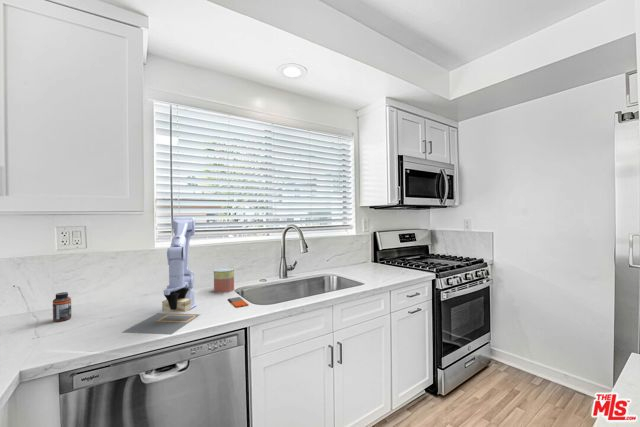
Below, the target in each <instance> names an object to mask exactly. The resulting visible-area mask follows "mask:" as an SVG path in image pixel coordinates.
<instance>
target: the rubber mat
mask: <svg viewBox="0 0 640 427" xmlns="http://www.w3.org/2000/svg"><path fill="white" fill-rule="evenodd" d="M199 316H201V313H200V314H197V313H172V312H171V313H170V312H169V313H166V312H157V313H155V314H153V315H152V316H150V317H148V318H146V319H144V320H142V321H140V322H139V323H136V324H134V325H133V326H131V327H129V328H127V329H125V330H123V331H121V333H122V334H123V333H127V334H153V335H173V334H174V333H176V332H178V331H179V330H180V329H182V328H183V327H186V325H187V324H189V323H191V322H192V321H194V320H196V318H198V317H199Z"/></svg>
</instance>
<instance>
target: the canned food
mask: <svg viewBox="0 0 640 427" xmlns="http://www.w3.org/2000/svg"><path fill="white" fill-rule="evenodd" d="M233 291H235V268H234V267H220V268H215V269H213V292H214V293H218V294H224V293H231V292H233Z"/></svg>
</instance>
